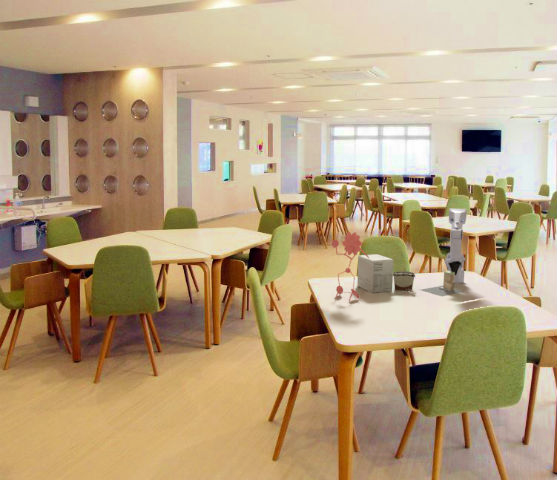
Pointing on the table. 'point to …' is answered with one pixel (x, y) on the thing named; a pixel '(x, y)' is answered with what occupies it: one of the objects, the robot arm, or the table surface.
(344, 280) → the table surface
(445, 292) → the mat
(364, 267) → the supplement box
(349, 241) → the figurine
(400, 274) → the food container
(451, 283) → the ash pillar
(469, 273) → the table surface
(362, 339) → the table surface
